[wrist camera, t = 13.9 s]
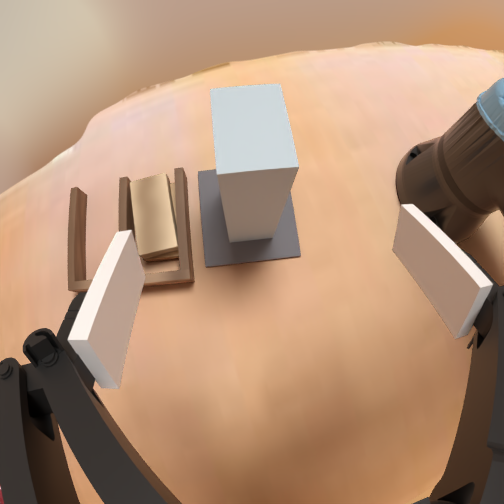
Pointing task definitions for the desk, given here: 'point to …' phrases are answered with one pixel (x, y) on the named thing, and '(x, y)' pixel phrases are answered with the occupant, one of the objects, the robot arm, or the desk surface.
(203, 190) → the mat
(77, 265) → the rack
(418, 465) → the desk surface
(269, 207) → the pale blue thick slab
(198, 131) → the desk surface
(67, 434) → the robot arm
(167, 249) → the offcut top
